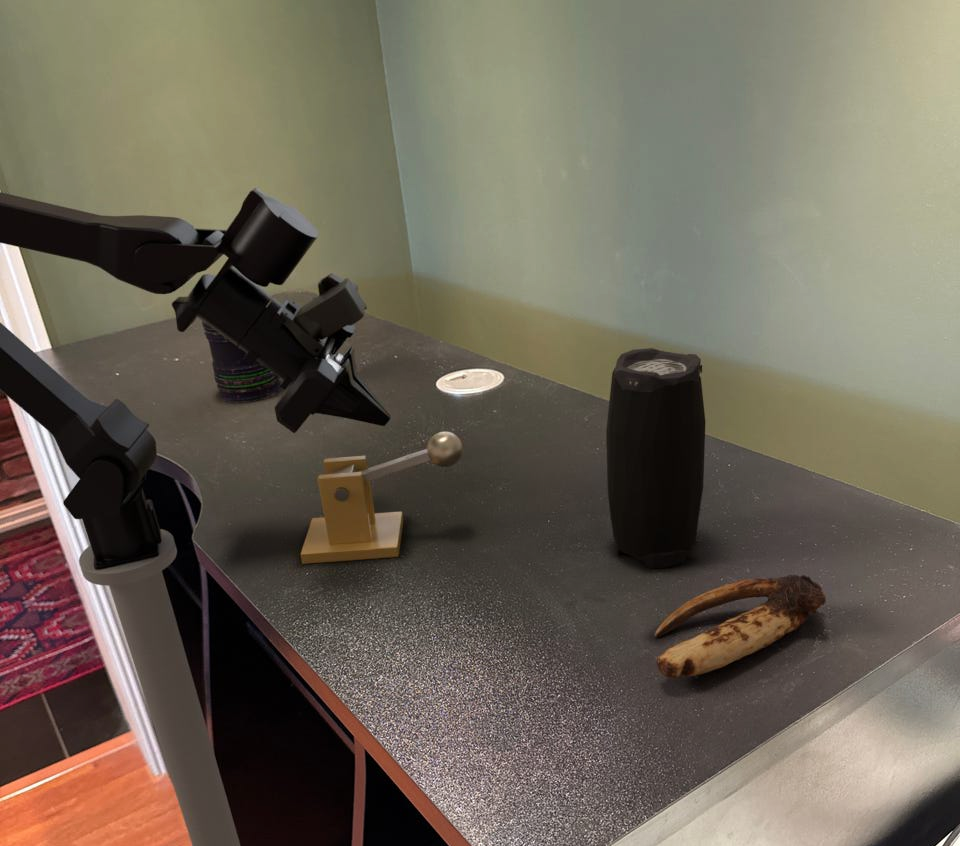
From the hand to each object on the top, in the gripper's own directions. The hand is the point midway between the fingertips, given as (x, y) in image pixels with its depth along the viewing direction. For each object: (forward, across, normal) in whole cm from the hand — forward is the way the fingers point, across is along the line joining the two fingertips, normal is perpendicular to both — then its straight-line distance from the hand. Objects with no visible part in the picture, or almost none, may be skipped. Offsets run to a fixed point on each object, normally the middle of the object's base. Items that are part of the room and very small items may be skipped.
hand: (387, 421), depth 91 cm
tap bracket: (+6, 0, +13) cm, 14 cm away
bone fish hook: (+30, -22, -11) cm, 39 cm away
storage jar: (-10, +52, +29) cm, 60 cm away
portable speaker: (+28, -6, -8) cm, 30 cm away
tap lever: (+5, 0, +4) cm, 7 cm away
